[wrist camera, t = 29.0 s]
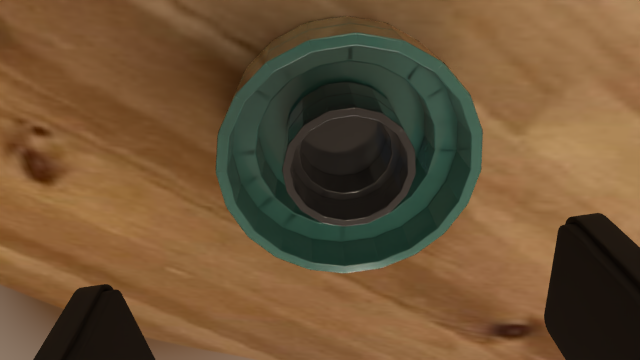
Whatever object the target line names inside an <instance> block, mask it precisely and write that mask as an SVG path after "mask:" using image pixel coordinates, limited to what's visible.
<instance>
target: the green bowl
mask: <svg viewBox="0 0 640 360" xmlns="http://www.w3.org/2000/svg"><path fill="white" fill-rule="evenodd" d="M341 82H352V83H356V84H360V85H365V86H369V87H371V88H373V89H374V90H375V91H377V92H378V93H379V94H381V95H382V96H383V97H385V98H386V99H387V100H388V101H389V102H390V104H391V106H392V108H393V110H394V112H395V113H396V115H397V117H398V119H399V121H400V123H401V125H402V126H403V128H404V130H405V132H406V134H407V136H408V138H409V139H410V141H411V143H412V145H413V147H414V149H415V161H416V174H415V177H414V179H413V182H412V184H411V187H410V189H409V192H408V194H407V196H406V197H405V198H404V199H403V200H402V201H401V202H400V203H399V204H398V205H397V206H396V207H395V208H394V209H393V210H392V211H391V212H390V213H388V214H386V215H384V216H382V217H380V218H378V219H376V220H374V221H372V222H370V223H367V224H360V225H353V226H347V227H345V226H344V227H343V226H338V225H332V224H327V223H322V222H319V221H318V220H316V219H314V218H313V217H311V216H309V215H308V214H306V213H304V212H302V211H301V210H300V209H299V208H298V206H297V205H296V204H295V202H294V201H293V200H292V198H291V197H290V196H289V194H288V193H287V190H286V186H285V181H284V177H283V172H282V165H283V152H284V140H285V133H286V128H287V124H288V120H289V116H290V114H291V113H292V112H293V110H294V109H295V108H296V106H297V105H298V104H299V102H300V101H301V99H302V98H303V97H304V96H306V95H308V94H310V93H311V92H313V91H315V90H316V89H318V88H320V87H321V86H324V85H328V84H334V83H341ZM482 137H483V131H482V128H481V125H480V122H479V119H478V116H477V113H476V110H475V107H474V104H473V101H472V98H471V95H470V94H469V92H468V91H467V90H466V89H465V87H464V86H463V85H462V84H461V83H460V81H459V80H458V79H457V78H456V77H455V75H454V74H453V73H452V72H451V71H450V69H449V68H448V67H447V66H446V65H445V63H444V62H442V61H441V60H440V59H439V58H438V57H437V56H435V55H434V54H433V53H432V52H431V51H430V50H428V49H427V48H426V47H425V46H424V45H423V44H422V43H420V42H419V41H418V40H416V39H414V38H413V37H411V36H409V35H407V34H406V33H404V32H402V31H400V30H399V29H397V28H395V27H393V26H392V25H390V24H388V23H385V22H380V21H374V20H368V19H363V18H357V17H351V16H343V17H336V18H330V19H324V20H318V21H312V22H308V23H305V24H303V25H301V26H299V27H297V28H295V29H293V30H292V31H290V32H288V33H286V34H284V35H282V36H280V37H278V38H277V39H275V40H273V41H272V42H270V43H269V45H268V46H267V47H266V48H265V49H264V50H263V51H262V52H261V53H260V54H259V55H258V56H257V57H256V58H255V60H254V61H253V62H252V63H251V64H250V65H249V66H248V67H247V68H246V70H245V71H244V74H243V76H242V78H241V80H240V83H239V85H238V87H237V90H236V92H235V94H234V96H233V99H232V101H231V103H230V106H229V108H228V110H227V113H226V115H225V117H224V120H223V122H222V124H221V127H220V129H219V132H218V138H217V155H216V175H217V178H218V182H219V185H220V188H221V192H222V195H223V198H224V201H225V205H226V207H227V209H228V210H229V212H230V213H231V214H232V216H233V217H234V218H235V220H236V221H237V223H238V224H239V225H240V227H241V228H242V229H243V231H244V232H245V234H246V235H247V236H248V237H249V238H251V239H252V240H253V241H255V242H256V243H257V244H259V245H260V246H261V247H263V248H264V249H265V250H267V251H268V252H269V253H271V254H272V255H274V256H275V257H277V258H280V259H282V260H285V261H288V262H290V263H293V264H296V265H298V266H301V267H304V268H306V269H310V270H317V271H327V272H337V273H351V272H358V271H366V270H373V269H380V268H383V267H385V266H388V265H390V264H393V263H395V262H398V261H400V260H403V259H405V258H408V257H410V256H413V255H415V254H417V253H418V252H419V251H421V250H422V249H424V248H425V247H426V246H428V245H429V244H430V243H432V242H433V241H435V240H436V239H437V238H439V237H440V236H441V235H443V234H444V232H446V231H447V230H448V228H449V227H450V226H451V225H452V223H453V222H454V221H455V219H456V218H457V217H458V216H459V214H460V213H461V212H462V211H463V209H464V208H465V207H466V206H467V204H468V202H469V200H470V197H471V195H472V192H473V190H474V187H475V185H476V182H477V179H478V177H479V174H480V172H481V163H482Z"/></svg>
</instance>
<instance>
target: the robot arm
mask: <svg viewBox="0 0 640 360" xmlns="http://www.w3.org/2000/svg"><path fill="white" fill-rule="evenodd" d="M544 319H545V324H546V327H547V330H548V332H549V334H550V335H551V337H552V339H553V340H554V342H555V343H556V345H557V346H558V348H559V350H560V351H561V353H562V354H563V356H564V358H565V359H566V360H640V247H638V246H637V245H636V244H635V243H634V242H633V241H632V240H631V239H630V238H629V237H628V236H627V235H625V234H624V233H623V232H622V231H621V230H620V229H619V228H618V227H617V226H616V225H615V224H614V223H612V222H611V221H610V220H609V219H608V218H607V217H606V216H604V215H603V214H600V213H595V214H588V215H581V216H574V217H570V218H568V220H567V221H566V224H565V225H562V226H560V228H559V230H558V235H557V241H556V247H555V253H554V259H553V265H552V271H551V277H550V283H549V290H548V296H547V302H546V308H545V314H544ZM34 360H155V358H154V356H153V354H152V352H151V350H150V348H149V346H148V344H147V343H146V340H145V338H144V336H143V335H142V333H141V331H140V329H139V327H138V325H137V323H136V321H135V319H134V317H133V315H132V313H131V311H130V309H129V307H128V305H127V303H126V301H125V299H124V298H123V296H122V294H121V292H120V291H119V290H113V288H112V287H111V286H110V285H108V284H104V285H97V286H90V287H83V288H79V289H77V290H76V291H75V293H74V294H73V296H72V297H71V299H70V300H69V302H68V304H67V305H66V307H65V309H64V310H63V312H62V314H61V315H60V317H59V318H58V320H57V322H56V323H55V325H54V327H53V328H52V330H51V332H50V333H49V335H48V336H47V338H46V340H45V341H44V343H43V345H42V346H41V348H40V350H39V351H38V353H37V355H36V356H35V358H34Z"/></svg>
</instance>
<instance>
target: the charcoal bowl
mask: <svg viewBox="0 0 640 360" xmlns="http://www.w3.org/2000/svg"><path fill="white" fill-rule="evenodd" d="M282 172H283V177H284V181H285V186H286V190H287V193H288V194H289V196H290V197H291V198H292V200H293V201H294V202H295V204H296V205H297V206H298V208H299V209H300V210H301V211H302V212H304V213H306V214H308V215H309V216H311V217H313V218H314V219H316V220H318V221H319V222H322V223H327V224H332V225H338V226H343V227H344V226H345V227H347V226H353V225H360V224H367V223H370V222H372V221H374V220H376V219H378V218H380V217H382V216H384V215H386V214H388V213H390V212H391V211H392V210H393V209H394V208H395V207H396V206H397V205H398V204H399V203H400V202H401V201H402V200H403V199H404V198H405V197H406V196H407V194H408V192H409V189H410V187H411V184H412V182H413V179H414V177H415V174H416V161H415V149H414V147H413V145H412V143H411V141H410V139H409V138H408V136H407V134H406V132H405V130H404V128H403V126H402V125H401V123H400V121H399V119H398V117H397V115H396V113H395V112H394V110H393V108H392V106H391V104H390V102H389V101H388V100H387V99H386V98H385V97H383V96H382V95H381V94H379V93H378V92H377V91H375V90H374V89H373V88H371V87H369V86H365V85H360V84H356V83H352V82H341V83H334V84H328V85H324V86H321V87H320V88H318V89H316V90H315V91H313V92H311V93H310V94H308V95H306V96H304V97H303V98H302V99H301V101H300V102H299V104H298V105H297V106H296V108H295V109H294V110H293V112H292V113H291V114H290V116H289V120H288V124H287V128H286V133H285V140H284V152H283V165H282Z"/></svg>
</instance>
